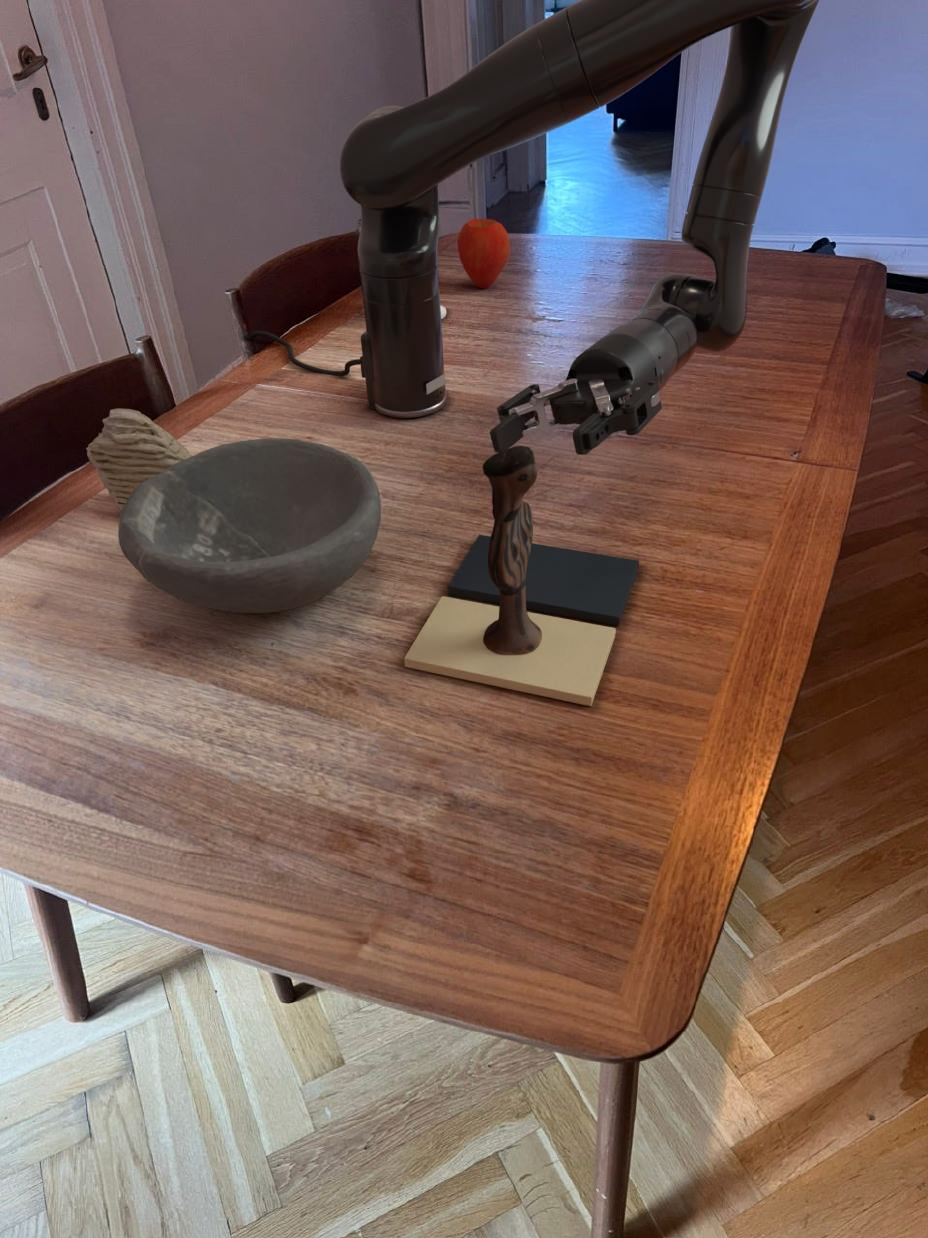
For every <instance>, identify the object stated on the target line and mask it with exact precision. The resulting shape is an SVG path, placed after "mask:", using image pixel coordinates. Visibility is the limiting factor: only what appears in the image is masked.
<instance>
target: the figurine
mask: <svg viewBox="0 0 928 1238" xmlns="http://www.w3.org/2000/svg"><path fill="white" fill-rule="evenodd" d="M482 471H483V474H484V475H485V476H486V478H487V479H488V481H489V483H490V486H491V504H492V507H491V508H492V516H493V520H494V521H493V527H492V531H491V534H490V536H491V540H490V542H489V553H488V568H489V575H490V579H491V581H492V582H493V584H494V585H495V586H496V587H497V588H499V589H500V598H499V604H498V605H499V606H498V607H499V619H498V620H496V621H494V622H493V623H492V624H490V625H489V626H488V627H487V629H486V631H485V634H484V637H483V643H484V644H485V646H486V648H488V649H489V650H490V651H492V652H494V653H496V654H502V655H513V654H514V655H519V654H527V653H530V652H533V651H534V650H535V649H536V648H537V647H538V646H539V644H540V642H541V639H542V632H541V629H540V628H539V626H538V625H536V624H535V623H534V622H532V621H531V619H530V618H529V616H528V614H527V612H528V611H527V610H528V609H526V568H527V562H528V558H529V554H530V551H531V545H532V543H533V539H534V525H533V524H534V523H533V522H534V521H533V511H532V508H531V506H530V504H529V503H528V502H526V501H524V500H523V498H524V496H525V495H526V493H528V491H529V490H530V489H531V488H532V487H533V486H534V484H535V483H536V481H537V477H538V469H537V464H536V459H535V453H534V452H533V450H532V448H530V446H526V445H513V446H511V447H510V448H509V449H505V450H502V451H500V452H496V453H495V454H492V456H490V457H489V458H487V459H486V460H485V461H484V462H483V464H482Z"/></svg>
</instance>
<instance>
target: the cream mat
mask: <svg viewBox="0 0 928 1238" xmlns="http://www.w3.org/2000/svg"><path fill="white" fill-rule="evenodd" d="M527 614H528V616H529V618H530V619H531V621H532V622H534V623H535V624H536V625H538V626H539V628H540V629H541V632H542V639H541V642H540V644H539V646H538V647H537V648H536V649H535V650H534V651H533V652H530V653H527V654H519V655H514V654H513V655H502V654H496V653H494V652H492V651H490V650H489V649H488V648H486V646H485V644H484V643H483V637H484V634H485V631H486V629H487V627H488V626H489V625H490V624H492V623H493V622H494V621H496V620H498V619H499V606H498V605H492V604H487V603H482V602H476V601H472V600H465V599H460V598H455V597H450V596H445V595H441V597H440V598H439V600H438V601H437V602H436V605H435V606H434V608H433V610H432V611H431V613H430V615H429V617H428V618H427V620H426V621H425V623H424V625H423V626H422V628H421V629H420V631H419V633H418V634H417V636H416V638H415V640H414V641H413V643H412V644H411V646H410V648H409V650H408V651H407V653H406V654H405V656H404V657H403V660H404V667H405V668H409V669H414V670H418V671H422V672H426V673H433V674H437V675H442V676H447V677H451V678H455V679H460V680H465V681H471V682H475V683H480V684H484V685H490V686H494V687H498V688H503V689H508V690H513V691H517V692H520V693H527V694H530V695H536V696H541V697H546V698H550V699H553V700H561V701H564V702H568V703H574V704H578V705H582V706H589V707H592V706H593V704H594V703H593V702H594V700H595V697H596V694H597V691H598V687H599V685H600V683H601V679H602V677H603V674H604V670H605V668H606V665H607V662H608V659H609V656H610V653H611V650H612V647H613V645H614V641H615V639H616V631H617V630H616V628H615V627H610V626H605V625H600V624H595V623H591V622H590V623H589V622H584V621H579V620H575V619H574V620H573V619H567V618H562V617H559V616H553V615H552V616H551V615H548V614H547V615H545V614H541V613H535V612H530V611H527Z"/></svg>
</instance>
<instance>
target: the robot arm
mask: <svg viewBox="0 0 928 1238" xmlns="http://www.w3.org/2000/svg"><path fill="white" fill-rule="evenodd" d="M819 2H820V0H578V1H576V2H574V3H572V4H570V5H568V6H567V7H563V9H560V10H559V11H557V12H555V13H554V14H552V15H550V16H548V17H546V18H544V19H543V20H540V21H538V23H535V24H533V25H532V26H530V27H529V28H527V29H525V30H524V31H522V32H520V33H519V34H517V35H516V36H515V37H513V38H511V39H510V40H508V41H507V42H506V43H504V44H503V45H501V46H500V47H499V48H497V49H496V50H494V51H492V53H490V54H489V55H488V56H486V57H485V58H484V59H482V60H481V61H480V62H479V63H477V64H476V65H475V66H473V67H472V68H470V69H469V70H468V71H467V72H466V73H464V74H463V75H462V76H461V77H459V78H458V79H456V80H455V81H453V82H452V83H451V84H449V85H448V86H446V87H444V88H442V89H441V90H438V91H436V92H434V93H433V94H430V95H429V96H427V97H424V98H422V99H419V100H417V101H415V102H412V103H410V104H408V105H406V106H401V105H386V106H382V107H379V108H377V109H375V110H373V111H371V112H370V113H368V115H366V116H365V117H364V118H363V119H361V120H360V121H359V122H357V123H356V124H355V125H354V126H353V127H352V129H351V130H349V133H348V134H347V136H346V137H345V140H344V142H343V144H342V147H341V151H340V156H339V162H338V163H339V165H338V167H339V168H338V170H339V176H340V180H341V183H342V186H343V188H344V189H345V191H346V193H347V194H348V196H350V198H351V199H352V200H353V201H355V202H356V203H357V204H358V205H360V231H359V237H358V242H357V259H358V267H359V268H358V269H359V276H360V284H361V285H360V286H361V294H362V302H363V312H364V322H365V329H366V330H365V331H364V332H363V333H362V334H361V336H360V344H361V345H360V347H361V355H360V357H359V358H356V359H351V360H348V361H347V362H346V363H345V364H344V369H343V370H329V369H323V368H319V367H315V366H312V365H309V364H307V363H304V362H302V361H299V360H298V359H296V358H295V355H294V351H293V350H294V349H293V347H292V345H291V344H290V343H289V342H288V341H287V340H285V339H283V338H281V337H279V336H277V335H275V334H273V333H270V332H268V331H263V330H256V331H255V330H254V331H252V332H251V333H250V334H249V335H248V336H247V339H246V340H247V341H248V340H249V341H252V340H253V339H254V338H256V337H265V338H268V339H270V340H271V341H275V342H276V343H279V344H280V345H282V346H283V347H285V348H286V350H287V357H288V359H289V361H290V362H291V363H292V364H293V365H294V366H296V367H298V368H301V369H302V370H306V371H309V372H311V373H316V374H319V375H328V376H335V377H345V376H348V375H349V374H350V371H351V367H354V366H359V365H360V373H361V378H363V379H364V380H365V381H364V382H365V388H366V396H367V397H366V398H367V406H368V409H372V410H376V411H377V412H378V413H379V414H382V415H384V416H388V417H391V418H399V419H412V418H420V417H425V416H428V415H431V414H434V413H436V412H438V411H440V410H441V409H442V408H444V407H445V405H446V403H447V391H446V384H447V383H446V373H445V363H444V362H445V361H444V360H445V359H444V343H443V328H442V319H441V308H440V305H441V293H440V276H439V275H440V274H439V256H438V249H439V248H438V246H439V236H440V203H439V200H440V198H439V184H441V183H442V182H444V181H445V180H447V179H448V178H450V177H452V176H453V175H455V174H457V173H459V172H460V171H461V170H464V169H465V168H467V167H468V166H470V165H472V164H475V163H477V162H479V161H480V160H483V159H486V158H487V157H490V156H493V155H495V154H498V153H500V152H503V151H506V150H509V149H511V148H514V147H517V146H519V145H522V144H524V143H526V142H529V141H531V140H533V139H536V138H538V137H541V136H543V135H545V134H548V133H549V132H552V131H554V130H556V129H559V128H561V127H563V126H565V125H569V124H571V123H572V122H575V121H576V120H578V119H581V118H582V117H585V116H586V115H589V114H590V113H592V112H594V111H597V110H598V109H600V108H603V107H604V106H606V105H608V104H610V103H611V102H613V101H615V100H617V99H619V98H621V96H623V95H624V94H626V93H627V92H629V91H630V90H632V89H633V88H636V87H637V86H638V85H640V84H641V83H642V82H644V81H645V80H646V79H648V78H650V76H652V75H654V74H655V73H656V72H657V71H658V70H660V69H661V68H662V67H663V66H666V65H667V64H668V63H669V62H670V61H672V60H673V59H675V58H676V57H677V56H679V55H680V54H682V53H683V52H684V51H685V50H687V49H688V48H690V47H692V46H694V45H695V44H697V43H699V42H700V41H702V40H704V39H707V38H709V37H710V36H712V35H715V34H718V33H720V32H722V31H724V30H727V29H729V28H731V27H732V32H731V40H730V45H729V50H728V56H727V60H726V61H727V62H726V67H725V71H724V74H723V78H722V83H721V87H720V90H719V93H718V98H717V102H716V104H715V107H714V111H713V113H712V116H711V119H710V123H709V127H708V130H707V132H706V134H705V135H706V136H705V139H704V143H703V144H702V148H701V152H700V155H699V159H698V162H697V166H696V170H695V173H694V177H693V182H692V186H691V190H690V193H689V198H688V202H687V207H686V210H685V211H686V213H685V215H684V218H683V222H682V227H681V235H680V236H681V241H682V243H683V244H684V246H685V247H687V248H688V249H690V250H693V251H695V252H697V253H699V254H701V255H703V256H705V257H707V258H708V259H709V260H710V261H711V263H712V265H713V268H714V273H715V279H711V278H706V277H701V276H696V275H692V274H687V273H679V272H678V273H677V272H674V273H669V274H666V275H664V276H662V277H660V278H659V279H658V280H657V281H655V283H654V284H653V286H652V288H651V290H650V292H649V294H648V297H647V299H646V301H645V302H644V305H643V306H642V308H641V310H640V311H639V313H638V314H636V315H635V316H634V317H633V318H631V319H630V320H628V321H627V322H626V323H623V324H621V325H619V326H617V327H615V328H613V330H610V331H609V332H608V333H607V334H606V335H604V336H603V337H601V338H599V340H597V341H596V342H595V343H593V344H592V345H590V346H589V347H588V348H586V349H585V350H584V351H582V352H581V353H580V354H579V355H577V357H575V359H574V360H573V362H572V363H571V365H570V367H569V370H568V373H567V376H566V378H565V380H564V381H561V382H559V383H558V384H557V386H555V387H553V388H549V389H546V390H543V391H541V389H540V385H539V384H537V383H536V384H535V383H533V384H530V385H528V386H527V387H525V388H524V389H522V390H521V391H519V392H518V393H517V394H515V395H513V396H512V397H511V398H509V399H508V400H506V401H504V402H503V403H501V404H500V405H498V406H497V407H496V412H497V416H498V420H499V423H498V424H496V425H495V426H494V427H492V428H491V429H490V430H489V436H490V441H491V444H492V447H493V448H492V449H493V451H494V453H498V452H500V451H502V450H505V449H510V448H512V447H513V446H515V444H517V443H518V442H519V441H520V440H521V439H523V438H524V436H527V435H529V434H532V433H535V432H538V431H540V432H541V433H542V434H548V433H551V432H553V431H555V430H559V429H561V428H565V427H567V426H571V427H575V426H577V425H578V426H577V427H576V428H575V429H573V430H572V441H573V445H574V449H575V453H576V455H578V456H587V455H588V454H589V453H591V451H592V450H594V449H595V448H598V446H600V445H601V444H602V443H603V442H604V441H606V439H613V438H615V437H617V436H618V435H619V432H624V431H625V434H626V435H627V436H634V435H638V434H639V433H641V432H642V430H644V429H645V427H646V426H647V425H648V424H649V423H650V422H651V421H652V420H653V419H654V418H655V417H656V416H657V415H658V414H659V412H660V411H661V410H662V409H663V406H662V397H661V390H662V389H663V388H664V387H665V386H666V385H667V383H668V382H669V381H670V379H672V378H673V377H674V376H675V375H676V374H677V373H678V372H679V371H680V370H682V369H683V368H684V367H685V366H686V365H687V364H688V363H689V362H690V360H691V359H692V358H693V356H694V354H695V352H696V350H697V349H698V350H701V351H704V352H705V351H706V352H709V353H716V354H717V353H723V352H725V351H727V350H728V349H730V348H731V347H732V346H733V345H734V344H735V343H736V342H737V341H738V340H739V339H740V337H741V335H742V334H743V331H744V328H745V325H746V321H747V313H748V267H749V254H750V246H751V239H752V234H753V230H754V227H755V226H754V224H756V220H757V215H758V213H759V208H760V205H761V201H762V199H763V197H762V196H763V194H764V190H765V186H766V183H767V179H768V175H769V171H770V166H771V163H772V158H773V157H772V156H773V152H774V146H775V142H776V137H777V131H778V126H779V121H780V116H781V111H782V107H783V103H784V98H785V95H786V92H787V91H786V90H787V87H788V84H789V80H790V77H791V73H792V70H793V67H794V64H795V62H796V61H795V60H796V59H797V56H798V52H799V49H800V46H801V45H802V43H803V39H804V37H805V34H806V33H807V30H808V28H809V25H810V23H811V20H812V19H813V16H814V13H815V11H816V9H817V6H818V4H819ZM549 406H550V410H551V414H552V418H553V419H552V420H549V421H548V419H547V415H546V411H545V410H546V409H545V407H549ZM533 419H534V421H533V422H530V423H528V422H529V421H531V420H533ZM526 423H528V424H526Z"/></svg>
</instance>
